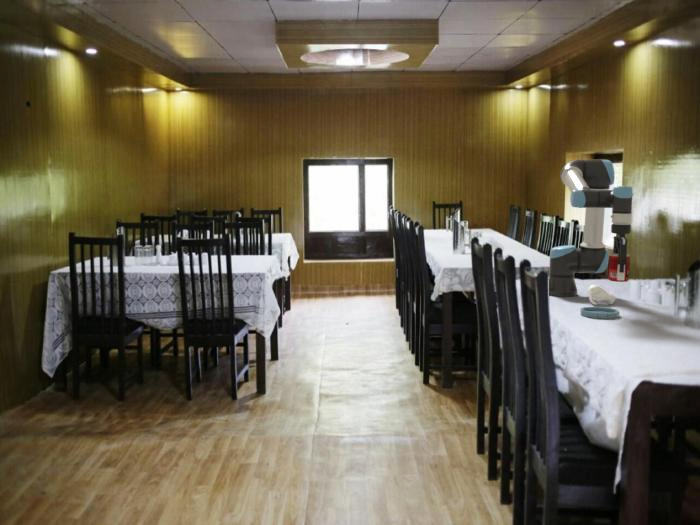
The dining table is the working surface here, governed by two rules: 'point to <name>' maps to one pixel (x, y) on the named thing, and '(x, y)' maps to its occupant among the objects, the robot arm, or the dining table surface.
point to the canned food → (614, 267)
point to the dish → (599, 312)
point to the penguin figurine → (599, 295)
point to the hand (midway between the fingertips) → (618, 278)
